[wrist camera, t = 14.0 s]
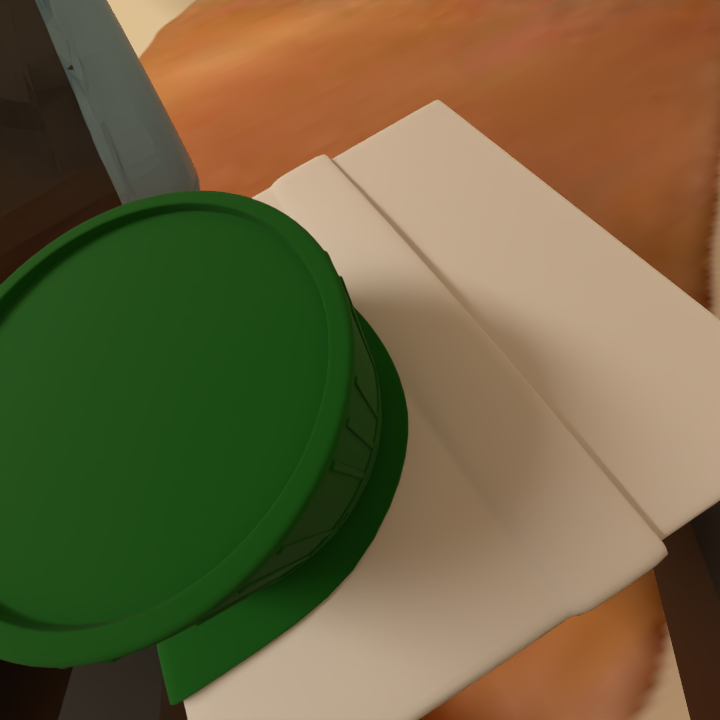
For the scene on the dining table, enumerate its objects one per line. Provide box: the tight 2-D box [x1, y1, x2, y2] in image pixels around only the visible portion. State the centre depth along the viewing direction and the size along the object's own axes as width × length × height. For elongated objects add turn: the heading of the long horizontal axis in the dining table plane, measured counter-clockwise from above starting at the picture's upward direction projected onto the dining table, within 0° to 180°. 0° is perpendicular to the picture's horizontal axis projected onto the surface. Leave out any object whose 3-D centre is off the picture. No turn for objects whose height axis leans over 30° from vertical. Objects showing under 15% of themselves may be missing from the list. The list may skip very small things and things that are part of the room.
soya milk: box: [0, 100, 720, 720], centre depth 12 cm, size 9×9×20 cm
